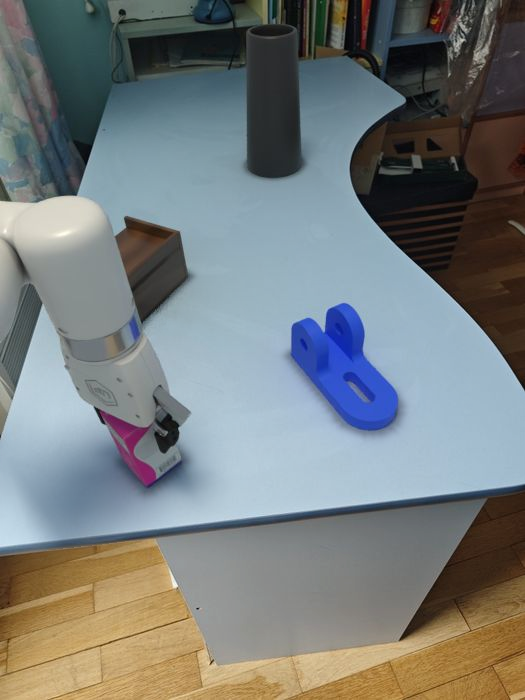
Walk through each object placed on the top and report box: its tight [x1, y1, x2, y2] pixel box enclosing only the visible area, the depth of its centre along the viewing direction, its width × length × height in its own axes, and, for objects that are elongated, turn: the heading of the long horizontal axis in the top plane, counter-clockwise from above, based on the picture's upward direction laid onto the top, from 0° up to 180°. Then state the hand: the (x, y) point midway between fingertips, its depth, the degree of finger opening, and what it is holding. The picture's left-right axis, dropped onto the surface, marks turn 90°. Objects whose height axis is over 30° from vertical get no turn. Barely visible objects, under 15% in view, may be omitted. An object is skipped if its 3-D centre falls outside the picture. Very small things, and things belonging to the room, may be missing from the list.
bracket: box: [290, 302, 399, 431], centre depth 69 cm, size 18×8×9 cm, turn 29°
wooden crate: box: [115, 215, 189, 325], centre depth 85 cm, size 12×16×10 cm
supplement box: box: [100, 409, 183, 489], centre depth 60 cm, size 6×6×12 cm
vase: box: [245, 23, 303, 179], centre depth 111 cm, size 14×14×29 cm
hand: (140, 429), depth 59 cm, fingers open, 8 cm apart
